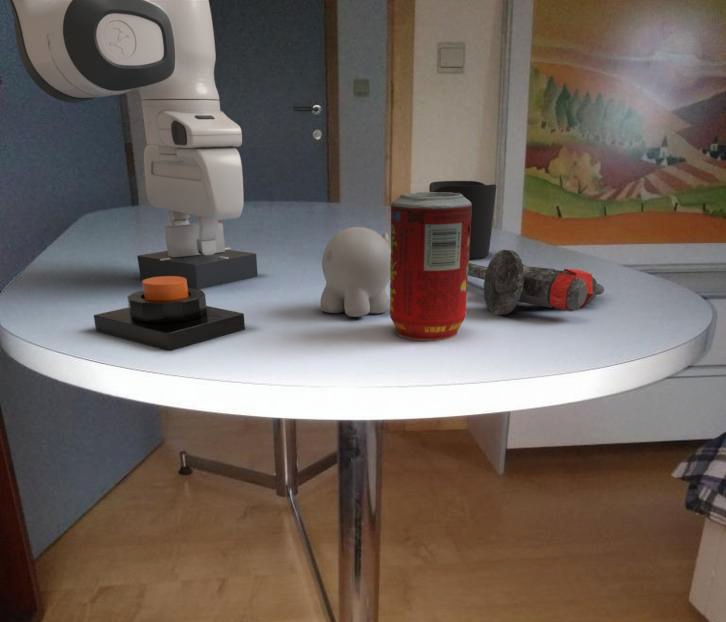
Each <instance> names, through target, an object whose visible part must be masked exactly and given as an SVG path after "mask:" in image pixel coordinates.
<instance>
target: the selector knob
mask: <svg viewBox="0 0 726 622" xmlns="http://www.w3.org/2000/svg"><path fill="white" fill-rule="evenodd" d="M221 221H222V220H218V229H217V233H216V238H215V248H216V252H215V253H221V252H225V248H226V245H225V236H224V235H225V234H224V225H223V223H222V222H221ZM199 230H200V226H199V225H198V224H197V223H189V224H187V225H176V226H173V225H167V226H166V225H165V226H164V235H165V242H166V249H167V250H166V251H168V256H170V257H173V258H177V257H186V256H195V255H202V254H200V253H198V251H197V243H196V239H199Z"/></svg>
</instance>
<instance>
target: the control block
mask: <svg viewBox="0 0 726 622" xmlns="http://www.w3.org/2000/svg"><path fill="white" fill-rule="evenodd" d="M188 296H189V297H186V298H181V299H176V300H165V301H159V300H146V299H145V298H144V291H143V290H138V291H135V292H132V293H131V294H128V295H127V305H128V307H123V308H119V309H115V310H111V311H105V312H102V313H97V314H93V321H94V326H95V331H96V332H97V333H99V334H100V333H101V334H104V335H108V336H110V337H111V336H112V337H115V338H119V339H124V340H127V341H130V342H135V343H137V344H142V345H145V346H149V347H153V348H157V349H161V350H164V351H167V352H173V351H176V350H179V349H183V348H186V347H189V346H193V345H196V344H200V343H203V342H207V341H211V340H214V339H218V338H221V337H225V336H228V335H232V334H235V333H238V332H242V331H245V330H246V324H245V314H244V312H238V311H233V310H229V309H223V308H219V307H215V306H209V305H207V301H206V300H207V299H206V293H205V292H204V291H203V290H202V289H193V288H188Z"/></svg>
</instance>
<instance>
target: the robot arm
mask: <svg viewBox="0 0 726 622" xmlns="http://www.w3.org/2000/svg"><path fill="white" fill-rule="evenodd" d="M8 4H9V6H10V9H11V14H12V18H13V24H14V32H15V40H16V46H17V51H18V54H19V58H20V60H21V63H22V65H23V67H24V70H25V72H26V73H27V74H28V76H29V77H30V78H31V79H32V81H33V82H34V84H36V86H37V87H38V88H39V89H41V91H43V92H44V93H46V94H47V95H48V96H51V98H54V99H56V100H58V101H61V102H65V103H71V104H78V103H80V104H81V103H84V102H85V103H86V102H87V101H91V100H93V99H96V98H105V97H111V96H116V95H123V94H126V93H128V92H131V91H133V90H135V89H136V90H137V92H138V93H139V95H140V100H141V108H142V117H143V124H144V125H143V126H144V134H145V138H146V139H145V140H146V146H145V147H144V151H143V170H144V171H143V172H144V181H145V193H146V198H147V201H148V203H149V205H150V206H151V207H152V208H157V209H161V210H167V211H168V213H169V221H170V223H171V226H176V225H187V224H190V222H189V220H190V216H194V217H196V222H197V223H196V224H198V225H199V226H200V230H199V239H196V243H197V251H198V253H200V254H202V255H213V254H215V252H216V248H215V238H216V233H217V229H218V221H222V220H233V219H239V218H240V217H241V215H242V213H243V209H244V202H245V199H244V197H245V196H244V177H243V164H242V159H241V158H242V157H241V156H240V152H239V150H238V149H237V147H242V145H243V133H242V128H241V126H240V125H239V124H237V123H236V122H235V121H233V120H232V119H231V118H229V116H227V115H226V114H225V112H224V111H222V110H221V103H220V95H219V92H218V88H217V86H216V81H215V66H216V62H217V61H216V59H217V55H216V43H215V42H216V41H215V34H214V33H215V32H214V25H213V19H212V18H213V17H212V10H211V6H210V0H8Z"/></svg>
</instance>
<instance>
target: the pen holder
mask: <svg viewBox="0 0 726 622" xmlns="http://www.w3.org/2000/svg"><path fill="white" fill-rule="evenodd" d="M428 186H429V187H428V188H429V189H428V190H429V191H428V192H439V193H440V192H447V193H460V194H462V195H463V196H464V197H465V198H466V199H468V200H469V201H470V202H471V204H472V216H471V233H470V250H469V261H476V260H482V259H485V258H487V257H488V256H489V255H490V254H489V253H490V246H491V240H492V230H493V223H494V222H493V221H494V213H495V203H496V194H497V185H496V184H494V183H493V184H485V183H484V182H480V181H476V180H441V181H440V180H439V181H438V180H437V181H432V182H430V183H429V185H428Z"/></svg>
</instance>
